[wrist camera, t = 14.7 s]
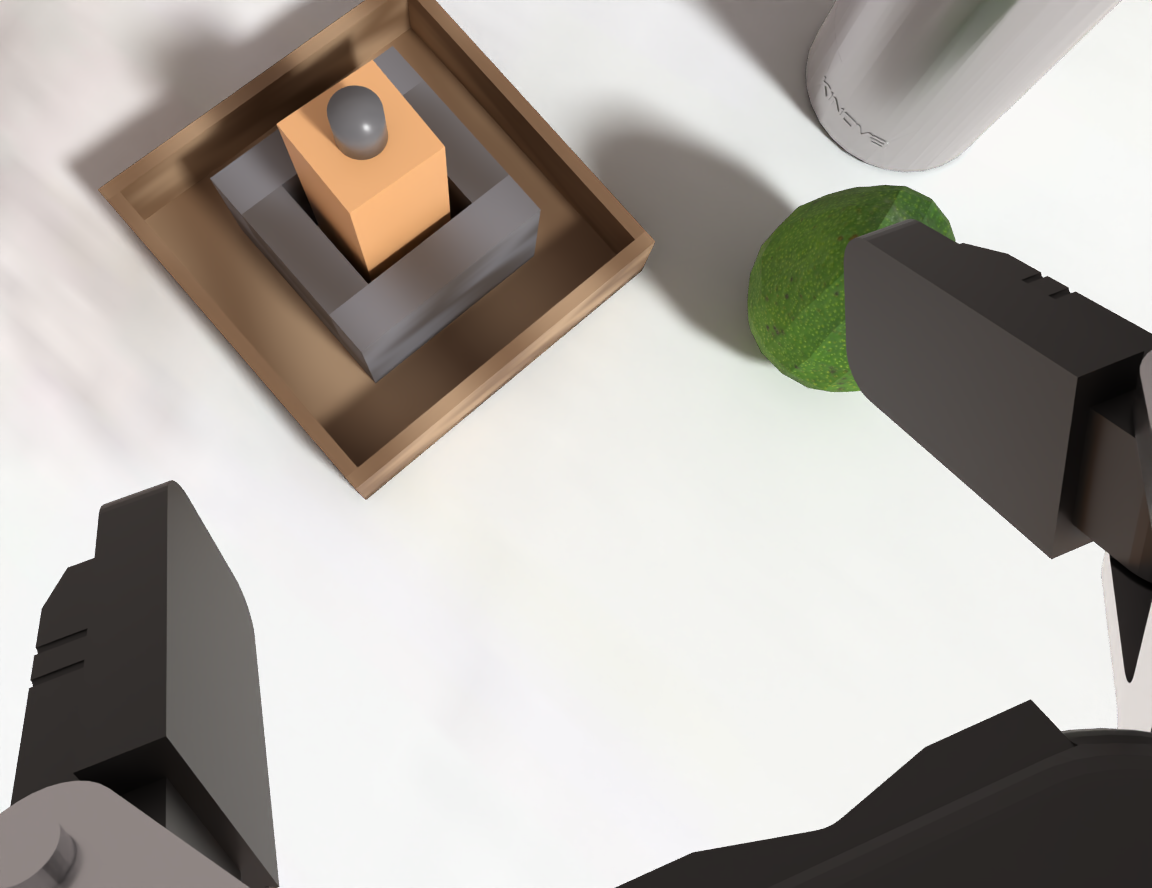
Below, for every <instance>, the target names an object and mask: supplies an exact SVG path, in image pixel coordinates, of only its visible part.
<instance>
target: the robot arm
mask: <svg viewBox="0 0 1152 888" xmlns="http://www.w3.org/2000/svg"><path fill="white" fill-rule="evenodd" d="M1121 1H1122V0H836V2H835V3H834V5H833V7H832V8H831V10H830V12H829V14H828V15H827V17H826V19H825V21H824V22H823V24H822V26H821V28H820V29H819V31H818V33H817V35H816V37H815V39H814V41H813V44H812V46H811V48H810V50H809V55H808V60H807V65H806V84H807V90H808V94H809V98H810V102H811V105H812V107H813V109H814V111H815V113H816V115H817V117H818V119H819V122H820V123H821V125H822V126H823V127H824V128H825V130H826V131H827V132H828V134H829V135H830V136H831V137H832V139H833V140H835V141H836V142H837V143H838V144H839V145H840V146H841V147H843V148H844V149H845V150H846V151H847V152H848V153H850V154H852V155H854V156H855V157H857V158H859V159H860V160H862V161H864V162H866V163H868V164H871V165H874V166H877V167H880V168H882V169H887V170H893V171H900V172H914V171H925V170H929V169H932V168H936V167H939V166H942V165H944V164H946V163H948V162H950V161H952V160H953V159H955V158H957V157H958V156H960V155H961V154H962V153H963V152H964V151H965V150H966V149H967V148H968V147H970V146H971V145H972V144H973V143H974V142H975V141H976V140H977V139H978V138H979V137H980V136H981V135H982V134H983V133H984V132H985V131H986V130H987V129H988V128H990V127H991V126H992V125H993V124H994V123H995V122H996V121H997V120H998V119H999V118H1000V117H1001V116H1002V115H1003V114H1004V113H1005V112H1007V111H1008V110H1009V109H1010V108H1011V107H1012V106H1013V105H1014V104H1015V103H1016V102H1017V101H1018V100H1019V99H1020V98H1021V97H1022V96H1023V95H1024V94H1025V93H1026V92H1027V91H1028V90H1029V89H1030V88H1031V87H1033V86H1034V85H1035V84H1036V83H1037V82H1038V81H1039V80H1040V79H1041V78H1042V77H1043V76H1044V75H1045V74H1046V73H1047V72H1048V71H1049V70H1050V69H1051V68H1052V67H1053V66H1054V65H1055V64H1056V63H1057V62H1058V61H1059V60H1060V59H1062V58H1063V57H1064V56H1065V55H1066V54H1067V53H1068V52H1069V51H1070V50H1071V49H1072V48H1073V47H1074V46H1075V45H1076V44H1077V43H1078V42H1079V41H1080V40H1081V39H1082V38H1083V37H1084V36H1085V35H1086V34H1087V33H1088V32H1089V31H1090V30H1092V29H1093V28H1094V27H1095V26H1096V25H1097V24H1098V23H1099V22H1100V21H1101V20H1102V19H1103V18H1104V17H1105V16H1106V15H1107V14H1108V13H1109V12H1110V11H1111V10H1112V9H1113V8H1114V7H1115V6H1116V5H1117V4H1118V3H1119V2H1121ZM844 293H845V326H846V352H847V359H848V363H849V367H850V370H851V373H852V375H853V377H854V380H855V382H856V383H857V385H858V387H859V388H860V390H861V392H862V393H863V394H864V395H865V396H866V397H867V398H868V399H869V400H870V401H871V402H872V403H873V404H874V405H875V406H877V407H878V408H879V409H880V410H881V411H882V412H883V413H885V414H886V415H887V416H888V417H889V418H890V419H891V420H893V421H894V422H895V423H896V424H897V425H898V426H899V427H901V428H902V429H903V430H904V431H905V432H906V433H907V434H909V435H910V436H911V437H912V438H913V439H914V440H915V441H917V442H918V443H919V444H920V445H921V446H922V447H924V448H925V449H926V450H927V451H928V452H929V453H930V454H932V455H933V456H934V457H935V458H936V459H937V460H938V461H940V462H941V463H942V464H943V465H944V466H945V467H946V468H948V469H949V470H950V471H951V472H952V473H953V474H954V475H956V476H957V477H958V478H959V479H960V480H961V481H962V482H964V483H965V484H966V485H967V486H968V487H969V488H970V489H972V490H973V491H974V492H975V493H976V494H977V495H978V496H980V497H981V498H982V499H983V500H984V501H985V502H986V503H988V504H989V505H990V506H991V507H992V508H993V509H995V510H996V511H997V512H998V513H999V514H1000V515H1001V516H1003V517H1004V518H1005V519H1006V520H1007V521H1008V522H1009V523H1011V524H1012V525H1013V526H1014V527H1015V528H1016V529H1017V530H1019V531H1020V532H1021V533H1022V534H1023V535H1024V536H1025V537H1027V538H1028V539H1029V540H1030V541H1031V542H1032V543H1033V544H1035V545H1036V546H1037V547H1038V548H1039V549H1040V550H1041V551H1043V552H1044V553H1045V554H1046V555H1047V556H1048V557H1049V558H1051V559H1053V558H1055V557H1058V556H1060V555H1062V554H1065V553H1067V552H1069V551H1072V550H1074V549H1076V548H1079V547H1081V546H1083V545H1086V544H1088V543H1090V542H1093V541H1094V542H1095V543H1096V544H1098V545H1099V546H1100V547H1101V548H1103V549H1104V550H1105V554H1104V559H1103V564H1102V574H1101V577H1102V585H1103V594H1104V602H1105V610H1106V619H1107V627H1108V635H1109V644H1110V652H1111V660H1112V669H1113V677H1114V685H1115V694H1116V702H1117V718H1118V728H1117V729H1107V728H1096V729H1078V730H1067V731H1060V730H1059V729H1058V728H1057V727H1056V726H1055V725H1054V723H1053V722H1052V721H1051V720H1050V719H1049V718H1048V717H1047V716H1046V715H1045V714H1044V713H1043V712H1042V711H1041V710H1040V709H1039V708H1038V707H1037V705H1036V704H1035V703H1034V702H1033V701H1032V700H1028V701H1026V702H1024V703H1022V704H1020V705H1017V706H1015V707H1013V708H1011V709H1008V710H1006V711H1004V712H1002V713H1000V714H997V715H995V716H993V717H991V718H989V719H986V720H984V721H982V722H980V723H978V724H975V725H973V726H971V727H969V728H967V729H964V730H962V731H960V732H958V733H956V734H953V735H951V736H949V737H947V738H944V739H942V740H940V741H938V742H936V743H933V744H931V745H929V746H927V747H925V748H924V749H922V750H921V751H920V752H919V753H918V754H917V755H915V756H914V757H913V758H912V759H911V760H910V761H908V762H907V763H906V764H905V765H904V766H902V767H901V768H900V769H899V770H898V771H897V772H895V773H894V774H893V775H892V776H891V777H890V778H888V779H887V780H886V781H885V782H884V783H882V784H881V785H880V786H879V787H878V788H877V789H875V790H874V791H873V792H872V793H871V794H870V795H868V796H867V797H866V798H865V799H864V800H862V801H861V802H860V803H859V804H858V805H857V806H855V807H854V808H853V809H852V810H851V811H850V812H848V813H847V814H846V815H845V816H844V817H842V818H841V819H840V820H839V821H837V822H836V823H834V824H833V825H831V826H829V827H826V828H824V829H820V830H816V831H811V832H806V833H800V834H794V835H789V836H783V837H777V838H772V839H766V840H761V841H755V842H749V843H744V844H738V845H732V846H727V847H721V848H716V849H710V850H704V851H699V852H693V853H691V854H688V855H686V856H684V857H682V858H680V859H677V860H675V861H673V862H671V863H669V864H666V865H664V866H662V867H660V868H658V869H655V870H653V871H651V872H649V873H647V874H644V875H642V876H640V877H638V878H636V879H633V880H631V881H629V882H627V883H624V884H622V885H620V886H618V887H616V888H1152V334H1151V333H1149V332H1148V331H1146V330H1144V329H1142V328H1140V327H1139V326H1137V325H1135V324H1133V323H1131V322H1130V321H1128V320H1126V319H1124V318H1122V317H1121V316H1119V315H1117V314H1115V313H1113V312H1111V311H1110V310H1108V309H1106V308H1104V307H1102V306H1101V305H1099V304H1097V303H1095V302H1093V301H1092V300H1090V299H1088V298H1086V297H1084V296H1083V295H1081V294H1079V293H1077V292H1073V293H1070V292H1069V288H1068V287H1066V286H1065V285H1063V284H1061V283H1059V282H1057V281H1056V280H1054V279H1052V278H1050V277H1048V276H1047V277H1044V278H1043V277H1042V276H1041V272H1039V271H1037V270H1036V269H1034V268H1032V267H1030V266H1028V265H1027V264H1025V263H1023V262H1021V261H1019V260H1018V259H1016V258H1014V257H1012V256H1010V255H1009V254H1006V253H1002V252H998V251H994V250H990V249H985V248H981V247H977V246H973V245H969V244H965V243H962V244H958V243H956V242H955V241H953V240H951V239H949V238H948V237H946V236H944V235H942V234H941V233H939V232H937V231H935V230H934V229H932V228H930V227H928V226H927V225H925V224H923V223H922V222H920V221H917V220H914V219H907V220H904V221H901V222H898V223H896V224H893V225H890V226H887V227H885V228H882V229H879V230H876V231H873V232H871V233H868V234H865V235H862V236H859V237H857V238H854V239H852V240H851V241H850V242H849V243H848V244H847V246H846V249H845V252H844ZM36 649H37V651H38V654H37V655H34V661H33V668H32V674H31V681H32V684H33V687H31V688H29V693H28V699H27V706H26V712H25V718H24V724H23V731H22V737H21V743H20V750H19V756H18V762H17V769H16V775H15V781H14V787H13V794H12V800H11V806H10V807H9V808H8V809H6V810H5V811H3V812H2V813H1V814H0V888H277V887H279V880H278V870H277V860H276V849H275V839H274V829H273V819H272V809H271V798H270V788H269V778H268V768H267V758H266V747H265V737H264V727H263V717H262V707H261V696H260V686H259V676H258V666H257V656H256V645H255V635H254V629H253V624H252V620H251V616H250V613H249V609H248V606H247V603H246V601H245V598H244V596H243V593H242V591H241V589H240V587H239V584H238V582H237V581H236V579H235V577H234V575H233V573H232V572H231V570H230V568H229V567H228V565H227V563H226V561H225V560H224V558H223V556H222V555H221V553H220V551H219V549H218V548H217V546H216V544H215V542H214V541H213V539H212V537H211V536H210V534H209V532H208V530H207V529H206V527H205V525H204V524H203V522H202V520H201V518H200V517H199V515H198V513H197V512H196V510H195V508H194V506H193V505H192V503H191V501H190V500H189V498H188V496H187V495H186V493H185V492H184V490H183V489H182V488H181V486H180V485H179V484H178V483H177V482H175V481H173V480H172V481H168V482H165V483H163V484H160V485H157V486H154V487H151V488H149V489H146V490H143V491H140V492H137V493H135V494H132V495H129V496H126V497H123V498H121V499H118V500H115V501H112V502H109V503H107V504H104V505H103V506H101V508H100V512H99V519H98V529H97V539H96V549H95V558H93V559H90V560H88V561H85V562H82V563H79V564H77V565H74V566H71V567H68V568H67V569H66V571H65V573H64V574H63V576H62V577H61V579H60V581H59V582H58V584H57V585H56V587H55V589H54V590H53V592H52V593H51V595H50V597H49V598H48V600H47V601H46V603H45V605H44V606H43V608H42V611H41V617H40V624H39V630H38V636H37V643H36Z"/></svg>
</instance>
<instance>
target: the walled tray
mask: <svg viewBox="0 0 1152 888" xmlns="http://www.w3.org/2000/svg"><path fill="white" fill-rule="evenodd" d="M371 60H373V61H374V62H375V63H376V64H377V66H378V67H379V68H380V69H381V70H382V72H383V73H384V74H385V75H386V76H387V78H388V79H389V80H390V81H391V82H392V84H393V85H394V86H395V87H396V88H397V90H398V91H399V92H400V93H401V94H402V96H403V97H404V98H405V99H406V100H407V102H408V103H409V104H410V105H411V106H412V108H413V109H414V110H415V111H416V112H417V114H418V115H419V116H420V117H421V118H422V120H423V121H424V122H425V123H426V124H427V126H428V127H429V128H430V129H431V130H432V132H433V133H434V134H435V135H436V136H437V138H438V139H439V140H440V141H441V142H442V144H443V145H444V146H445V154H446V166H447V179H448V192H449V204H450V217H451V220H450V221H449V222H448V223H446V224H445V225H444V226H443V227H441V228H440V229H439V230H437V231H436V232H435V233H434V234H432V235H431V236H430V237H428V238H427V239H426V240H425V241H423V242H422V243H421V244H419V245H418V246H417V247H416V248H414V249H413V250H412V251H410V252H409V253H408V254H407V255H405V256H404V257H403V258H401V259H400V260H399V261H398V262H396V263H395V264H394V265H392V266H391V267H390V268H389V269H387V270H386V271H385V272H383V273H382V274H381V275H380V276H378V277H377V278H376V279H374V280H373V281H372V282H371V283H369V284H368V283H367V282H366V281H365V280H364V279H363V278H362V276H361V275H360V274H359V273H358V272H357V271H356V270H355V268H354V267H353V266H352V265H351V264H350V263H349V262H348V260H347V259H346V258H345V257H344V256H343V255H342V254H341V252H340V251H339V250H338V249H337V248H336V247H335V246H334V245H333V243H332V242H331V241H330V240H329V239H328V238H327V237H326V235H325V234H324V233H323V232H322V231H321V230H320V227H319V225H318V223H317V220H316V218H315V215H314V213H313V210H312V208H311V206H310V203H309V201H308V198H307V196H306V194H305V191H304V189H303V186H302V184H301V182H300V179H299V177H298V174H297V172H296V170H295V167H294V165H293V162H292V160H291V158H290V155H289V153H288V150H287V148H286V146H285V143H284V141H283V138H282V136H281V134H280V131H279V129H278V126H277V123H278V122H280V121H281V120H283V119H284V118H286V117H287V116H289V115H290V114H292V113H293V112H295V111H296V110H298V109H299V108H301V107H302V106H304V105H305V104H307V103H308V102H310V101H311V100H313V99H314V98H316V97H317V96H319V95H320V94H322V93H323V92H325V91H326V90H328V89H329V88H331V87H332V86H334V85H335V84H337V83H338V82H340V81H341V80H343V79H344V78H346V77H347V76H349V75H350V74H352V73H353V72H355V71H356V70H358V69H359V68H361V67H362V66H364V65H365V64H367V63H368V62H370V61H371ZM98 191H99V192H100V193H101V194H102V195H103V196H104V198H105V199H106V200H107V201H108V202H109V203H110V205H111V206H112V207H113V208H114V209H115V210H116V212H117V213H118V214H119V215H120V216H121V217H122V218H123V220H124V221H125V222H126V223H127V224H128V225H129V227H130V228H131V229H132V230H133V231H134V232H135V234H136V235H137V236H138V237H139V238H140V239H141V241H142V242H143V243H144V244H145V245H146V246H147V248H148V249H149V250H150V251H151V252H152V253H153V254H154V256H155V257H156V258H157V259H158V260H159V261H160V263H161V264H162V265H163V266H164V267H165V268H166V270H167V271H168V272H169V273H170V274H171V275H172V277H173V278H174V279H175V280H176V281H177V282H178V284H179V285H180V286H181V287H182V288H183V289H184V291H185V292H186V293H187V294H188V295H189V296H190V297H191V299H192V300H193V301H194V302H195V303H196V304H197V306H198V307H199V308H200V309H201V310H202V311H203V313H204V314H205V315H206V316H207V317H208V318H209V320H210V321H211V322H212V323H213V324H214V325H215V327H216V328H217V329H218V330H219V331H220V332H221V334H222V335H223V336H224V337H225V338H226V339H227V340H228V342H229V343H230V344H231V345H232V346H233V347H234V349H235V350H236V351H237V352H238V353H239V354H240V356H241V357H242V358H243V359H244V360H245V361H246V363H247V364H248V365H249V366H250V367H251V368H252V370H253V371H254V372H255V373H256V374H257V375H258V377H259V378H260V379H261V380H262V381H263V382H264V383H265V385H266V386H267V387H268V388H269V389H270V390H271V392H272V393H273V394H274V395H275V396H276V397H277V399H278V400H279V401H280V402H281V403H282V404H283V406H284V407H285V408H286V409H287V410H288V411H289V413H290V414H291V415H292V416H293V417H294V418H295V420H296V421H297V422H298V423H299V424H300V425H301V426H302V428H303V429H304V430H305V431H306V432H307V433H308V435H309V436H310V437H311V438H312V439H313V440H314V442H315V443H316V444H317V445H318V446H319V447H320V449H321V450H322V451H323V452H324V453H325V454H326V456H327V457H328V458H329V459H330V460H331V461H332V463H333V464H334V465H335V466H336V467H337V468H338V469H339V471H340V472H341V473H342V474H343V475H344V476H345V478H346V479H347V480H348V481H349V482H350V483H351V485H352V486H353V487H354V488H355V489H356V490H357V491H358V492H359V493H360V494H361V495H362V496H363V497H364V498H365V499H366V500H367V499H368V498H369V497H370V496H371V495H373V494H374V493H375V492H376V491H377V490H379V489H380V488H381V487H382V486H383V485H385V484H386V483H387V482H388V481H389V480H391V479H392V478H393V477H394V476H395V475H397V474H398V473H399V472H400V471H401V470H403V469H404V468H405V467H406V466H407V465H409V464H410V463H411V462H412V461H413V460H415V459H416V458H417V457H418V456H419V455H421V454H422V453H423V452H424V451H426V450H427V449H428V448H429V447H430V446H432V445H433V444H434V443H435V442H436V441H438V440H439V439H440V438H441V437H442V436H444V435H445V434H446V433H447V432H448V431H450V430H451V429H452V428H453V427H454V426H456V425H457V424H458V423H459V422H460V421H462V420H463V419H464V418H465V417H466V416H468V415H469V414H470V413H471V412H472V411H474V410H475V409H476V408H477V407H478V406H480V405H481V404H482V403H483V402H484V401H486V400H487V399H488V398H489V397H490V396H492V395H493V394H494V393H495V392H496V391H498V390H499V389H500V388H501V387H502V386H504V385H505V384H506V383H507V382H509V381H510V380H511V379H512V378H513V377H515V376H516V375H517V374H518V373H519V372H521V371H522V370H523V369H524V368H525V367H527V366H528V365H529V364H530V363H531V362H533V361H534V360H535V359H536V358H537V357H539V356H540V355H541V354H542V353H543V352H545V351H546V350H547V349H548V348H549V347H551V346H552V345H553V344H554V343H555V342H557V341H558V340H559V339H560V338H561V337H563V336H564V335H565V334H566V333H567V332H569V331H570V330H571V329H572V328H573V327H575V326H576V325H577V324H578V323H579V322H581V321H582V320H583V319H584V318H585V317H587V316H588V315H589V314H590V313H591V312H593V311H594V310H595V309H596V308H598V307H599V306H600V305H601V304H602V303H604V302H605V301H606V300H607V299H608V298H610V297H611V296H612V295H613V294H614V293H616V292H617V291H618V290H619V289H620V288H622V287H623V286H624V285H625V284H626V283H628V282H629V281H630V280H631V279H632V278H634V277H635V276H636V275H637V274H638V273H640V272H641V271H642V269H643V267H644V265H645V263H646V260H647V258H648V256H649V254H650V252H651V250H652V247H653V245H654V243H655V241H654V240H653V238H652V237H651V236H650V235H649V234H648V233H647V232H646V231H645V230H644V229H643V227H642V226H641V225H640V224H639V223H638V222H637V221H636V220H635V219H634V218H633V217H632V215H631V214H630V213H629V212H628V211H627V210H626V209H625V208H624V207H623V206H622V204H621V203H620V202H619V201H618V200H617V199H616V198H615V197H614V196H613V195H612V193H611V192H610V191H609V190H608V189H607V188H606V187H605V186H604V185H603V184H602V182H601V181H600V180H599V179H598V178H597V177H596V176H595V175H594V174H593V173H592V172H591V170H590V169H589V168H588V167H587V166H586V165H585V164H584V163H583V162H582V161H581V159H580V158H579V157H578V156H577V155H576V154H575V153H574V152H573V151H572V150H571V148H570V147H569V146H568V145H567V144H566V143H565V142H564V141H563V140H562V139H561V137H560V136H559V135H558V134H557V133H556V132H555V131H554V130H553V129H552V128H551V127H550V125H549V124H548V123H547V122H546V121H545V120H544V119H543V118H542V117H541V116H540V114H539V113H538V112H537V111H536V110H535V109H534V108H533V107H532V106H531V105H530V103H529V102H528V101H527V100H526V99H525V98H524V97H523V96H522V95H521V94H520V92H519V91H518V90H517V89H516V88H515V87H514V86H513V85H512V84H511V83H510V81H509V80H508V79H507V78H506V77H505V76H504V75H503V74H502V73H501V72H500V71H499V69H498V68H497V67H496V66H495V65H494V64H493V63H492V62H491V61H490V60H489V58H488V57H487V56H486V55H485V54H484V53H483V52H482V51H481V50H480V49H479V47H478V46H477V45H476V44H475V43H474V42H473V41H472V40H471V39H470V38H469V36H468V35H467V34H466V33H465V32H464V31H463V30H462V29H461V28H460V27H459V26H458V24H457V23H456V22H455V21H454V20H453V19H452V18H451V17H450V16H449V15H448V13H447V12H446V11H445V10H444V9H443V8H442V7H441V6H440V5H439V4H438V2H437V1H436V0H365V1H363V2H362V3H360V4H359V5H358V6H356V7H355V8H353V9H352V10H350V11H349V12H348V13H346V14H345V15H343V16H342V17H341V18H339V19H338V20H336V21H335V22H334V23H332V24H331V25H329V26H328V27H326V28H325V29H324V30H322V31H321V32H319V33H318V34H317V35H315V36H314V37H312V38H311V39H310V40H308V41H307V42H305V43H304V44H302V45H301V46H300V47H298V48H297V49H295V50H294V51H293V52H291V53H290V54H288V55H287V56H286V57H284V58H283V59H281V60H280V61H278V62H277V63H276V64H274V65H273V66H271V67H270V68H269V69H267V70H266V71H264V72H263V73H262V74H260V75H259V76H257V77H256V78H254V79H253V80H252V81H250V82H249V83H247V84H246V85H245V86H243V87H242V88H240V89H239V90H238V91H236V92H235V93H233V94H232V95H231V96H229V97H228V98H226V99H225V100H223V101H222V102H221V103H219V104H218V105H216V106H215V107H214V108H212V109H211V110H209V111H208V112H207V113H205V114H204V115H202V116H201V117H199V118H198V119H197V120H195V121H194V122H192V123H191V124H190V125H188V126H187V127H185V128H184V129H183V130H181V131H180V132H178V133H177V134H175V135H174V136H173V137H171V138H170V139H168V140H167V141H166V142H164V143H163V144H161V145H160V146H159V147H157V148H156V149H154V150H153V151H151V152H150V153H149V154H147V155H146V156H144V157H143V158H142V159H140V160H139V161H137V162H136V163H135V164H133V165H132V166H130V167H129V168H127V169H126V170H125V171H123V172H122V173H120V174H119V175H118V176H116V177H115V178H113V179H112V180H111V181H109V182H108V183H106V184H105V185H104V186H102V187H101V188H99V189H98Z"/></svg>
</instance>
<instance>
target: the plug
mask: <svg viewBox="0 0 1152 888" xmlns="http://www.w3.org/2000/svg"><path fill="white" fill-rule="evenodd" d="M277 126H278V129H279V131H280V134H281V136H282V138H283V141H284V143H285V146H286V148H287V150H288V153H289V155H290V158H291V160H292V162H293V165H294V167H295V170H296V172H297V174H298V177H299V179H300V182H301V184H302V186H303V189H304V191H305V194H306V196H307V198H308V201H309V203H310V206H311V208H312V210H313V213H314V215H315V218H316V220H317V223H318V225H319V227H320V230H321V231H322V232H323V233H324V234H325V235H326V237H327V238H328V239H329V240H330V241H331V242H332V243H333V245H334V246H335V247H336V248H337V249H338V250H339V251H340V252H341V254H342V255H343V256H344V257H345V258H346V259H347V260H348V262H349V263H350V264H351V265H352V266H353V267H354V268H355V270H356V271H357V272H358V273H359V274H360V275H361V276H362V278H363V279H364V280H365V281H366V282H367V283H368V284H369V283H371V282H372V281H373V280H374V279H376V278H377V277H378V276H380V275H381V274H382V273H383V272H385V271H386V270H387V269H389V268H390V267H391V266H392V265H394V264H395V263H396V262H398V261H399V260H400V259H401V258H403V257H404V256H405V255H407V254H408V253H409V252H410V251H412V250H413V249H414V248H416V247H417V246H418V245H419V244H421V243H422V242H423V241H425V240H426V239H427V238H428V237H430V236H431V235H432V234H434V233H435V232H436V231H437V230H439V229H440V228H441V227H443V226H444V225H445V224H446V223H448V222H449V221H450V220H451V217H450V204H449V192H448V179H447V166H446V154H445V146H444V145H443V144H442V142H441V141H440V140H439V139H438V138H437V136H436V135H435V134H434V133H433V132H432V130H431V129H430V128H429V127H428V126H427V124H426V123H425V122H424V121H423V120H422V118H421V117H420V116H419V115H418V114H417V112H416V111H415V110H414V109H413V108H412V106H411V105H410V104H409V103H408V102H407V100H406V99H405V98H404V97H403V96H402V94H401V93H400V92H399V91H398V90H397V88H396V87H395V86H394V85H393V84H392V82H391V81H390V80H389V79H388V78H387V76H386V75H385V74H384V73H383V72H382V70H381V69H380V68H379V67H378V66H377V64H376V63H375V62H374V61H373V60H371V61H370V62H368V63H367V64H365V65H364V66H362V67H361V68H359V69H358V70H356V71H355V72H353V73H352V74H350V75H349V76H347V77H346V78H344V79H343V80H341V81H340V82H338V83H337V84H335V85H334V86H332V87H331V88H329V89H328V90H326V91H325V92H323V93H322V94H320V95H319V96H317V97H316V98H314V99H313V100H311V101H310V102H308V103H307V104H305V105H304V106H302V107H301V108H299V109H298V110H296V111H295V112H293V113H292V114H290V115H289V116H287V117H286V118H284V119H283V120H281V121H280V122H278V123H277Z"/></svg>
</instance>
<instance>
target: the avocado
mask: <svg viewBox="0 0 1152 888" xmlns="http://www.w3.org/2000/svg"><path fill="white" fill-rule="evenodd" d="M907 219H914V220H917V221H920V222H922V223H923V224H925V225H927V226H928V227H930V228H932V229H934V230H935V231H937V232H939V233H941V234H942V235H944V236H946V237H948V238H949V239H951V240H953V241H955V237H954V234H953V231H952V228H951V226H950V223H949V220H948V219H947V218H946V217H945V215H944V214H943V213H942V211H941V210H940V209H939V208H938V206H937V205H936V204H935V203H934V201H933V200H932V199H931V198H929V197H927V196H925V195H923V194H921V193H919V192H917V191H914V190H912V189H910V188H908V187H906V186H890V185H879V186H871V187H855V188H851V189H846V190H843V191H839V192H835V193H832V194H828V195H825V196H823V197H821V198H818V199H816V200H813V201H811V202H809V203H806V204H804V205H802V206H799V207H798V208H797V209H796V210H795V211H794V212H793V213H792V214H791V215H790V216H789V217H788V218H787V219H786V220H785V221H784V222H783V223H782V224H781V225H780V226H779V227H778V228H777V229H776V230H775V231H774V232H773V233H772V235H771V236H770V237H769V238H768V239H767V240H766V241H765V243H764V244H763V245H762V246H761V248H760V251H759V253H758V256H757V258H756V261H755V263H754V266H753V268H752V271H751V273H750V280H749V288H748V302H747V303H748V322H749V326H750V329H751V332H752V334H753V336H754V338H755V340H756V342H757V344H758V346H759V349H760V351H761V352H762V354H763V355H764V356H765V357H766V358H767V359H768V360H769V361H770V362H771V363H772V364H773V365H774V366H775V367H776V368H777V369H778V370H779V371H780V372H781V373H782V374H784V375H786V376H788V377H790V378H791V379H793V380H795V381H797V382H799V383H800V384H802V385H804V386H806V387H808V388H812V389H818V390H824V391H829V392H849V391H861V390H860V388H859V387H858V385H857V383H856V382H855V380H854V377H853V375H852V373H851V370H850V367H849V363H848V359H847V352H846V326H845V293H844V252H845V249H846V246H847V244H848V243H849V242H850V241H851V240H852V239H854V238H857V237H859V236H862V235H865V234H868V233H871V232H873V231H876V230H879V229H882V228H885V227H887V226H890V225H893V224H896V223H898V222H901V221H904V220H907Z"/></svg>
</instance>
